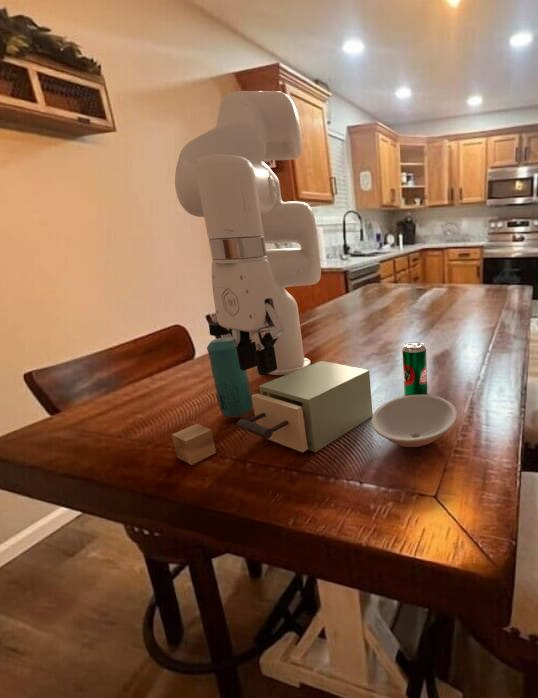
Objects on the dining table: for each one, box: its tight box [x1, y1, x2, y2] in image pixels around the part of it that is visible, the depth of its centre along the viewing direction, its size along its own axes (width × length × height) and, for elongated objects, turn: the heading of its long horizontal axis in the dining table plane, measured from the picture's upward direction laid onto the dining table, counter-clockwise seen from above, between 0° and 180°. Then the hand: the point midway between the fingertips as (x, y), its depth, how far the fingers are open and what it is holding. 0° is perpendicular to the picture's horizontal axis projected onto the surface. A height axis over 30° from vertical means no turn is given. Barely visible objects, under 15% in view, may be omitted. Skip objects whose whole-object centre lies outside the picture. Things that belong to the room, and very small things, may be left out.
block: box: [171, 423, 217, 466], centre depth 69 cm, size 4×4×4 cm
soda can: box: [401, 341, 428, 396], centre depth 87 cm, size 5×5×12 cm
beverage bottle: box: [206, 321, 254, 418], centre depth 80 cm, size 6×7×20 cm
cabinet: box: [258, 360, 374, 453], centre depth 77 cm, size 16×13×10 cm
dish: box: [371, 394, 458, 448], centre depth 70 cm, size 18×14×5 cm
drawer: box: [236, 393, 311, 453], centre depth 73 cm, size 20×12×8 cm, turn 146°
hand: (258, 368), depth 64 cm, fingers open, 3 cm apart
